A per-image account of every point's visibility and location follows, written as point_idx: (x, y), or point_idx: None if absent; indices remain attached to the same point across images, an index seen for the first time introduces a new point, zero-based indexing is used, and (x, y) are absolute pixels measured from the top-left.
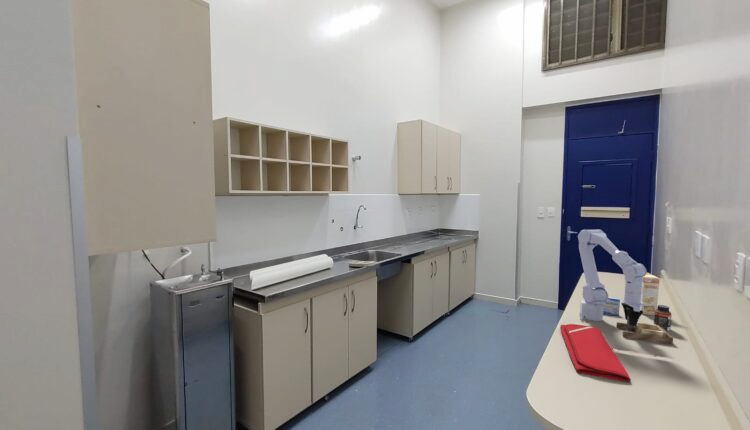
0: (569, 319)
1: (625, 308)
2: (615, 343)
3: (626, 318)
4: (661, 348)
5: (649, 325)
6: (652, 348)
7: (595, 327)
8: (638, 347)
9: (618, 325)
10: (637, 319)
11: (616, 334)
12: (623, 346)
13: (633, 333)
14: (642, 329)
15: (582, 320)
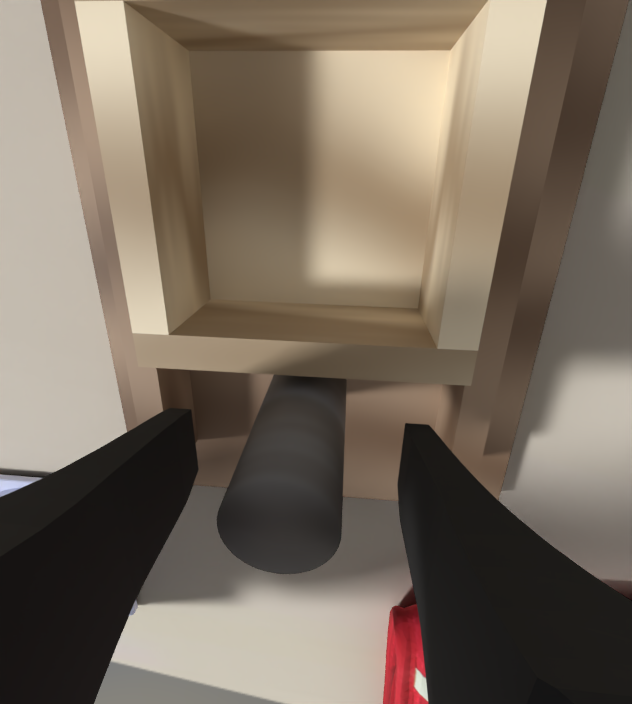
0: (148, 657)
1: (88, 684)
2: (567, 519)
3: (188, 485)
4: (606, 120)
5: (147, 131)
6: (627, 235)
7: (404, 655)
8: (625, 369)
9: None
10: (489, 506)
11: None
12: (626, 482)
13: (490, 417)
14: (476, 339)
15: (135, 611)
